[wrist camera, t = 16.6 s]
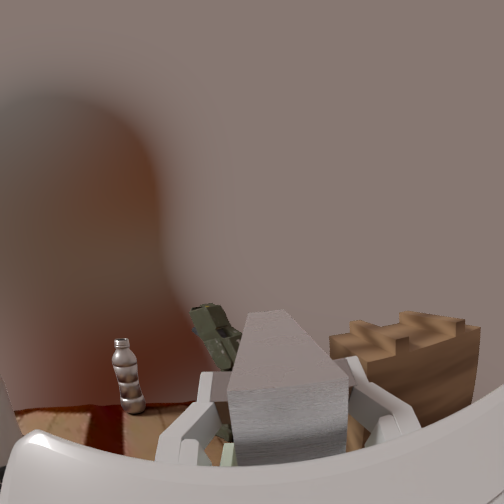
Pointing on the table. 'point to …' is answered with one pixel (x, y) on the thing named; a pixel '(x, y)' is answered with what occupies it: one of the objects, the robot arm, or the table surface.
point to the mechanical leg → (217, 343)
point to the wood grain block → (414, 364)
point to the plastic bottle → (127, 377)
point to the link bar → (285, 395)
